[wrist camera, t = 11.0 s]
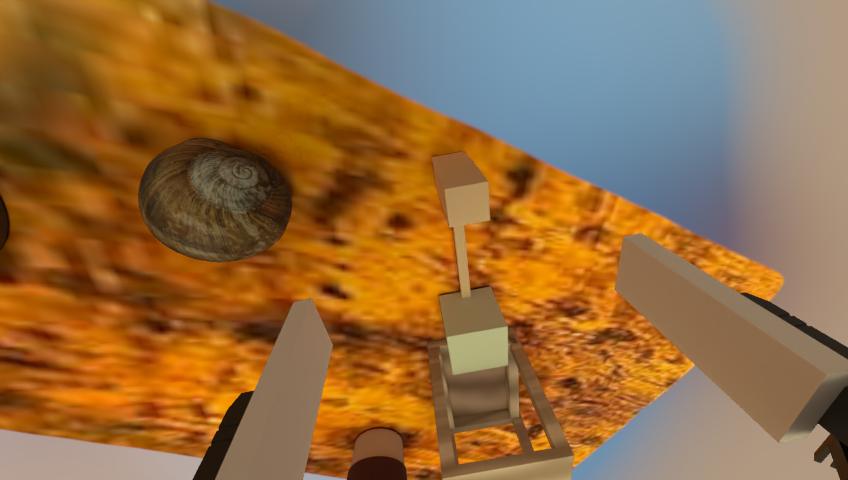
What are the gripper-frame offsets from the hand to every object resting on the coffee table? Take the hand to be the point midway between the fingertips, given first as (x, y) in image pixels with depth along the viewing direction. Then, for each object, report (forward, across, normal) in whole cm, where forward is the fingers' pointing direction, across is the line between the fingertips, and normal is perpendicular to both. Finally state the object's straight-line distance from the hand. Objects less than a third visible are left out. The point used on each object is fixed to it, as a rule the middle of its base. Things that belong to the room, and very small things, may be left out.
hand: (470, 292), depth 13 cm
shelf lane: (+17, +2, -29) cm, 34 cm away
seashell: (+18, -17, +3) cm, 25 cm away
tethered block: (+18, +2, -9) cm, 20 cm away
